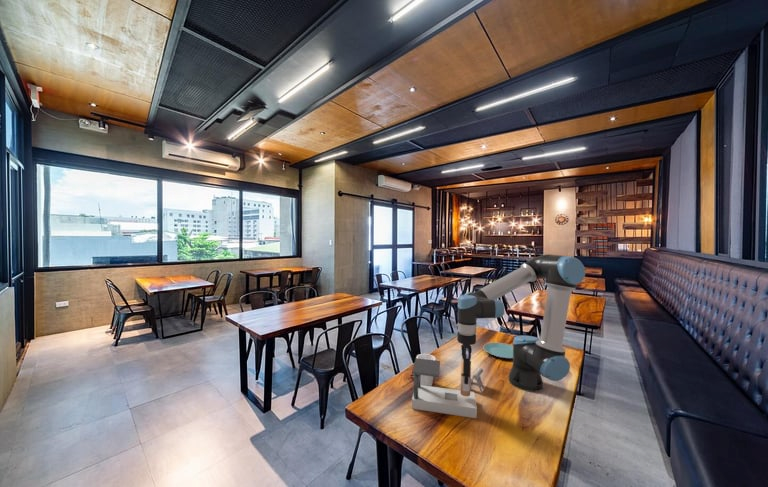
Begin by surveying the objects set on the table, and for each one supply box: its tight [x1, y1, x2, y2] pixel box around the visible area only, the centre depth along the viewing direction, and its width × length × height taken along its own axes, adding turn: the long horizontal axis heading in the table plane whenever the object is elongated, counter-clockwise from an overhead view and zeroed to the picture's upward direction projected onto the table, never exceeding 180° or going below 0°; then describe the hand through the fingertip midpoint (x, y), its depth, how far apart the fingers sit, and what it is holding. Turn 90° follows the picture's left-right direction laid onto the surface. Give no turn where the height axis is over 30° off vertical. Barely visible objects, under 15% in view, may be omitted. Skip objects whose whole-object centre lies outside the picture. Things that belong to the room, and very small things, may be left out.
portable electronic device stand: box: [471, 367, 485, 392], centre depth 134 cm, size 9×8×8 cm
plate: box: [482, 342, 513, 360], centre depth 174 cm, size 22×22×3 cm
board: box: [411, 385, 478, 419], centre depth 120 cm, size 26×12×4 cm, turn 77°
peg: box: [460, 359, 472, 396], centre depth 118 cm, size 4×4×14 cm
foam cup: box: [415, 353, 437, 387], centre depth 137 cm, size 10×9×13 cm
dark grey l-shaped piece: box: [411, 357, 441, 399], centre depth 122 cm, size 11×13×12 cm
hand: (465, 387), depth 118 cm, fingers closed on peg, 4 cm apart
